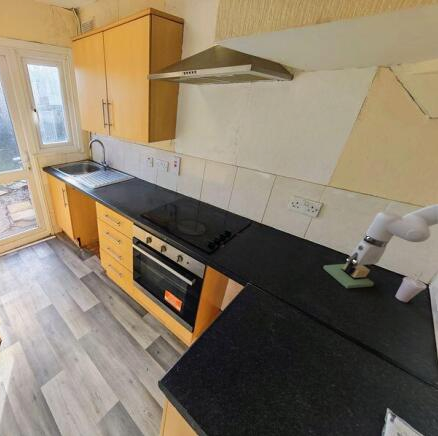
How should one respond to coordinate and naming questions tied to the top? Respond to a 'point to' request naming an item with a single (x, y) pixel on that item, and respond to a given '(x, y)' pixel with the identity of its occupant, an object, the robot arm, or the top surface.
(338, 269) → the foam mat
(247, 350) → the top surface
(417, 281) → the smoothie
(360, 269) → the tan block
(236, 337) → the top surface
